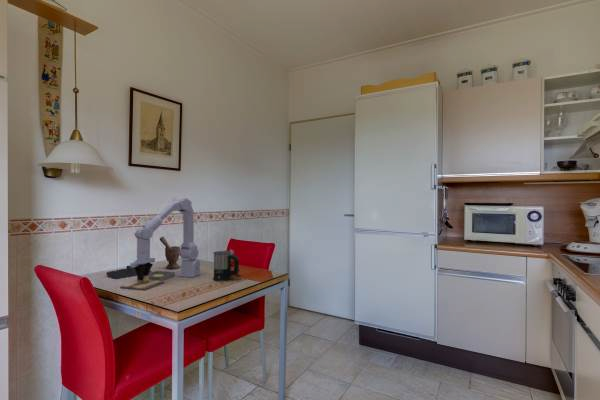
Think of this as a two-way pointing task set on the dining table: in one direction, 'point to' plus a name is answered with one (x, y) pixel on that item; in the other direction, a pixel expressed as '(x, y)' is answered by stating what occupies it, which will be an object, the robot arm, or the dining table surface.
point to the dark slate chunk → (123, 273)
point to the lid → (142, 283)
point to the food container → (231, 254)
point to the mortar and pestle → (171, 254)
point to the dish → (160, 275)
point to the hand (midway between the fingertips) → (142, 279)
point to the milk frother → (224, 265)
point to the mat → (142, 289)
